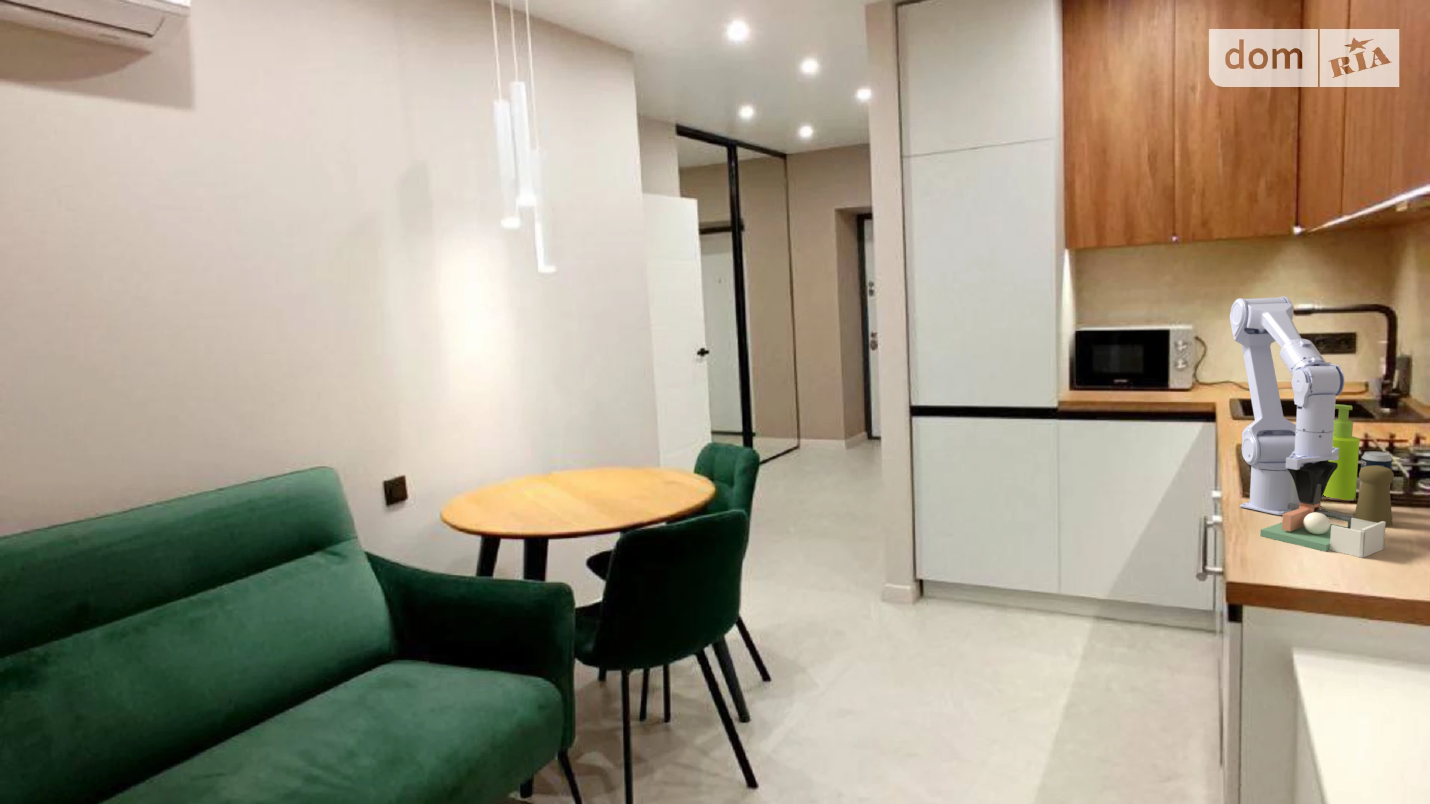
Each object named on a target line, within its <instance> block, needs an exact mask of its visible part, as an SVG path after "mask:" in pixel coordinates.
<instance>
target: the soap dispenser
mask: <svg viewBox="0 0 1430 804" xmlns="http://www.w3.org/2000/svg"><path fill="white" fill-rule="evenodd" d="M1335 410H1338V415H1337V416H1338V417H1337V418H1336V419H1334V430H1333V446H1332V447H1335V448H1339V455H1338V456H1339V459H1338V460H1334V461H1332V460H1328V461H1329V462H1335V463H1337V464H1338V467H1337V469H1336V470H1335V471H1334V472H1333V474H1332V475H1331V477H1330V479H1329V481H1328V483H1327V486H1326V488H1325V491H1324V494H1323V495H1324V496H1326V497H1330V498H1339V499H1342V500H1350V499H1354V498H1355V499H1356V494H1357V481H1358V480H1357V479H1358V468H1359V467H1358V465H1359V454H1360V453H1359V450H1360V440H1361V439H1360V438H1359V437H1356V436H1353V431H1354V430H1353V429H1354V422H1353V421H1352V420H1351V419H1349V413H1350V411H1353V406H1352V405H1347V404H1338V403H1337V404H1336V403H1335Z"/></svg>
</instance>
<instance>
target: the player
mask: <svg viewBox="0 0 1430 804" xmlns="http://www.w3.org/2000/svg"><path fill="white" fill-rule="evenodd" d="M1321 500H1322V499H1321V485H1320V484H1317V488H1316V493H1315V498H1314V500H1313V503H1306V502H1301V501H1300V502H1299V509H1296V510H1293V511H1290V512H1287V513H1284V514H1283V515H1282V521H1281V522H1282V530H1286V531H1293V530H1296V529H1298V528H1301V527H1304V524H1303V521H1304V518H1305V517H1306V516H1307V515H1308V514H1310V513H1313V512H1314V508H1317V509H1321V503H1322V502H1321Z"/></svg>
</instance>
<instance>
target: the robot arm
mask: <svg viewBox="0 0 1430 804" xmlns="http://www.w3.org/2000/svg"><path fill="white" fill-rule="evenodd" d="M1293 317H1294V305H1293V303H1292V301H1291V299H1290V298H1289V297H1288V296H1284V295H1283V296H1279V297H1262V298H1261V297H1260V298H1259V297H1258V298H1256V297H1255V298H1243V297H1242V298H1240V297H1239V298H1237V299H1235V300H1234V302H1233V303H1232V305H1231V308H1230V313H1229V321H1230V322H1229V323H1230V327H1231V332H1232V336H1233V341H1235V342H1237V343H1238V344H1240V345H1241V349H1242V356H1243V361H1244V367H1245V371H1246V372H1245V373H1246V378H1247V384H1248V389H1249V394H1250V400H1251V401H1250V402H1251V407H1252V412H1253V416H1254V421H1252V422H1251V423H1249V425H1247V426H1246V427H1244V429H1243V431H1242V433H1241V438H1242V440H1241V441H1242V442H1241V454H1242V458H1243V460H1245V462H1246V463H1247V464H1248V465H1249V466H1250V467H1251V468H1250V488H1249V501H1248V502H1245V503H1244V502H1243V503H1240V504H1239V507H1241V508H1244V509H1249V510H1254V511H1259V512H1263V513H1267V514H1272V515H1277V516H1283V514H1284V513H1287V512H1290V511H1291V510H1290V509H1288V504H1289V503H1292V504H1297V505H1299V502H1300V501H1301V502H1306V503H1313V500H1314V498H1315V493H1316V488H1317V484H1320V485H1321V500H1322V499H1323V498H1322V496H1323V494H1324V491H1325V488H1326V486H1327V483H1328V481H1329V479H1330V477H1331V475H1332V474H1333V472H1334V471H1335V470H1336V469H1337V467H1338V464H1337V463H1335V462H1329V461H1328V460H1332V461H1334V460H1338V459H1339V456H1338V455H1339V448H1335V447H1332V446H1333V430H1334V420H1335V414H1336V412H1335V411H1336V409H1335V404H1336V399H1337V397H1338V396H1339V395H1341V394H1342V393H1343V391H1344V387H1345V375H1344V372H1343V369H1342V368H1341V366H1340V365H1339V364H1335V363H1334V364H1332V362H1327V361H1326V360H1325V358H1324V357H1323V356H1322V354H1321V353H1320V351H1319V350H1318V349H1317V347H1316V345H1315V344H1314V343H1313V341H1311V340H1310V339H1306V338H1302V337H1301V335H1300V333H1299V331H1298V329H1297V327H1296V325H1295V323H1294V322H1293ZM1274 342H1276V343H1277V344H1278V345H1279V346H1280V352H1279V358H1280V359H1281V360H1282V363H1284V366H1285V367H1286V369H1287V370H1288V372H1289V373H1290V375H1291V376H1292V379H1291V382H1290V383H1291V389H1292V391H1293V402H1294V405H1296V419H1295V422H1296V423H1293V422H1292V421H1290V420H1288V419H1287V418H1285V416H1284V413H1283V412H1284V411H1283V407H1282V403H1281V402H1282V401H1281V397H1280V393H1279V388H1278V387H1279V386H1278V381H1277V375H1276V371H1275V370H1276V369H1275V366H1274V365H1275V363H1274V359H1273V355H1272V354H1273V353H1272V349H1271V346H1272V344H1273V343H1274Z"/></svg>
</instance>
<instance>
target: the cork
mask: <svg viewBox="0 0 1430 804" xmlns="http://www.w3.org/2000/svg"><path fill="white" fill-rule="evenodd" d="M1394 475H1395V474H1394V472H1393V470H1392V468H1391V469H1389V468H1386V467H1382V466H1365V467H1363V468H1362V469H1361V468H1360V470H1359V473H1358V477H1359V481H1360V480H1361V481H1362V486H1361V490H1360V494H1359V493H1358V498H1357V502H1356V506H1355V511H1354V514H1353V516H1356V517H1357V519H1361V520H1366V521H1371V522H1376V523H1379V522H1381V521H1384V522H1386V524H1385V528H1388V527H1392V526H1393V513H1392V512H1393V511H1392V502H1391V489H1390V488H1391V487H1390V488H1389V485H1390V486H1391V484H1392V483H1393V482H1394V477H1395V476H1394Z"/></svg>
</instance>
